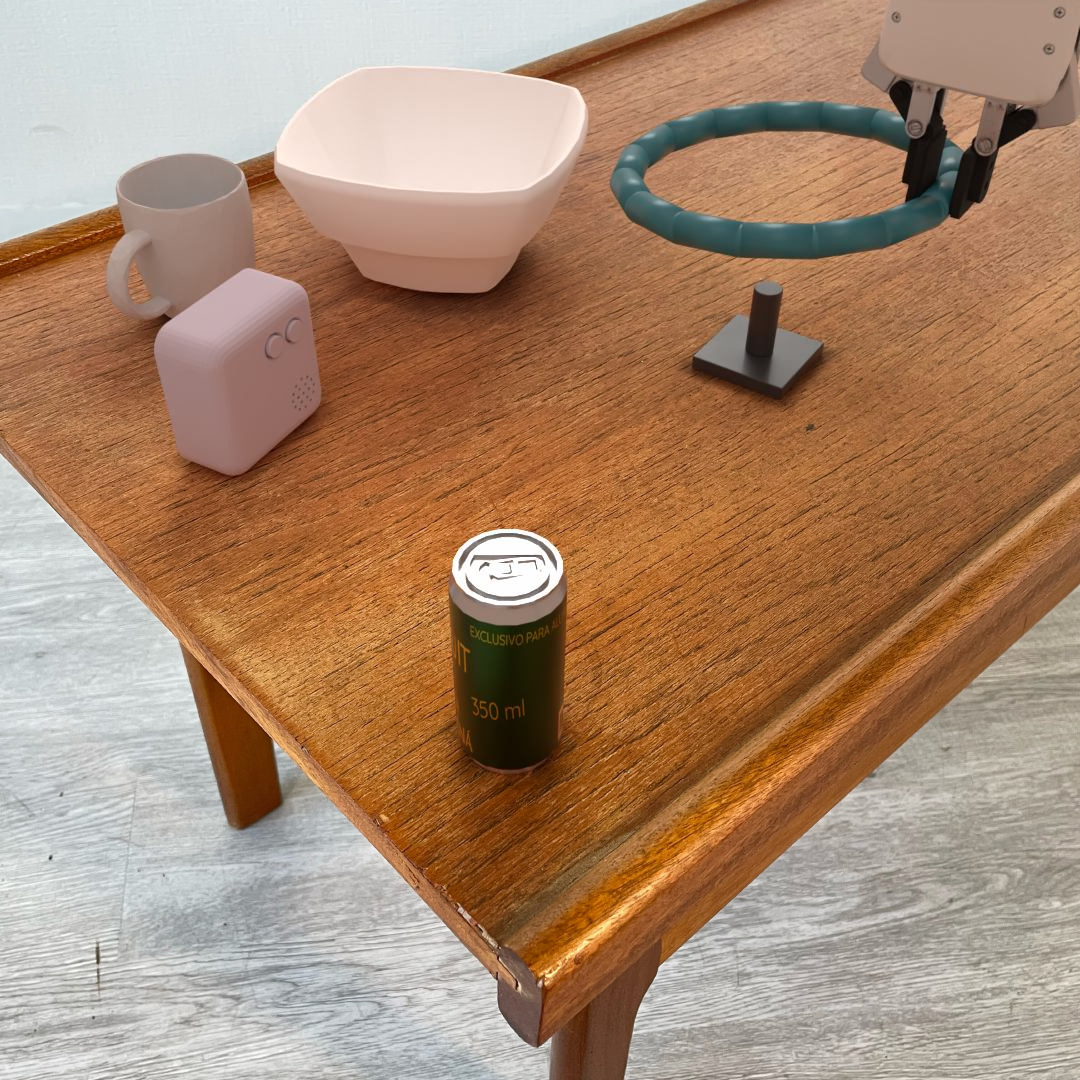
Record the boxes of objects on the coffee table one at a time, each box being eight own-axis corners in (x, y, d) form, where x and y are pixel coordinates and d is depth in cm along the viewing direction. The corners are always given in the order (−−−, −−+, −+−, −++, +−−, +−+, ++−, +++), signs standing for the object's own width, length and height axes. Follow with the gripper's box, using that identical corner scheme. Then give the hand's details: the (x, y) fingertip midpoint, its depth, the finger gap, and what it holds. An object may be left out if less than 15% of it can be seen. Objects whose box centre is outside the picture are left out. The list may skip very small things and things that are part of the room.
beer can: (553, 690, 64) (557, 520, 56) (571, 772, 60) (578, 602, 52) (451, 702, 63) (441, 531, 55) (463, 785, 59) (453, 615, 51)
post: (822, 354, 88) (836, 281, 84) (780, 400, 83) (793, 326, 79) (736, 324, 91) (746, 252, 86) (691, 367, 86) (699, 294, 82)
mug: (199, 262, 97) (175, 142, 90) (289, 292, 93) (270, 169, 87) (83, 338, 88) (46, 212, 82) (177, 373, 85) (147, 245, 78)
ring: (1014, 154, 79) (1020, 123, 77) (883, 295, 65) (887, 261, 64) (714, 109, 89) (714, 81, 88) (547, 222, 76) (544, 191, 74)
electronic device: (239, 490, 76) (212, 356, 69) (182, 468, 77) (149, 334, 71) (333, 408, 82) (316, 278, 75) (278, 388, 84) (256, 259, 77)
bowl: (548, 356, 87) (550, 208, 79) (259, 318, 91) (234, 172, 83) (603, 215, 103) (610, 80, 95) (357, 187, 107) (343, 54, 99)
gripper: (1211, -136, 59) (1093, 215, 71) (900, -178, 65) (841, 149, 77) (1174, -102, 54) (1054, 267, 66) (843, -152, 61) (790, 192, 73)
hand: (940, 201), depth 72 cm, fingers closed on ring, 2 cm apart
